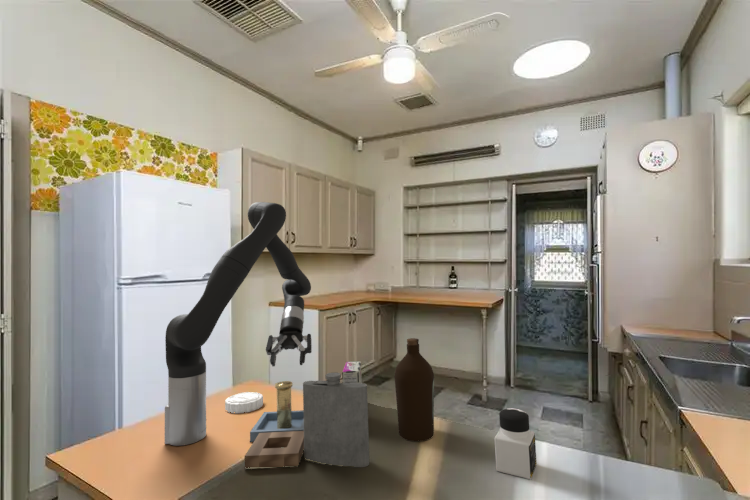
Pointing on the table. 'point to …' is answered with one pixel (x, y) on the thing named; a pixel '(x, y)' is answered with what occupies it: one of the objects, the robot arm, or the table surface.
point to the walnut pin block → (276, 449)
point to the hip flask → (336, 422)
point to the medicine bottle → (515, 444)
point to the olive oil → (415, 395)
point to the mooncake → (244, 402)
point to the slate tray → (270, 424)
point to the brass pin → (284, 404)
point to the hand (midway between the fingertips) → (287, 364)
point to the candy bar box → (352, 372)
